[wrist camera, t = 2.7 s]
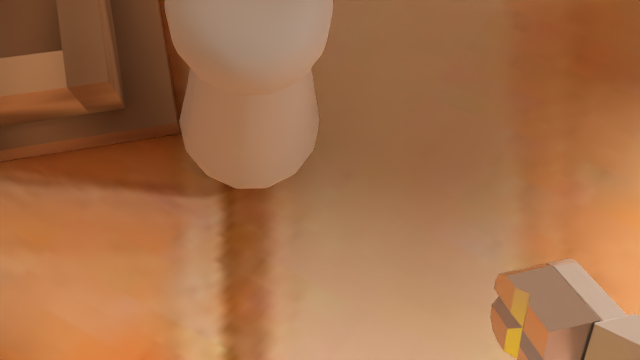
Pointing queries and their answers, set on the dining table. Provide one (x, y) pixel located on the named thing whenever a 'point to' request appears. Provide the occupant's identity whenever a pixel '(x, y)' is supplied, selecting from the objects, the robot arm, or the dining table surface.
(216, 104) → the salt shaker
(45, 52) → the board
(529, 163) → the dining table surface
